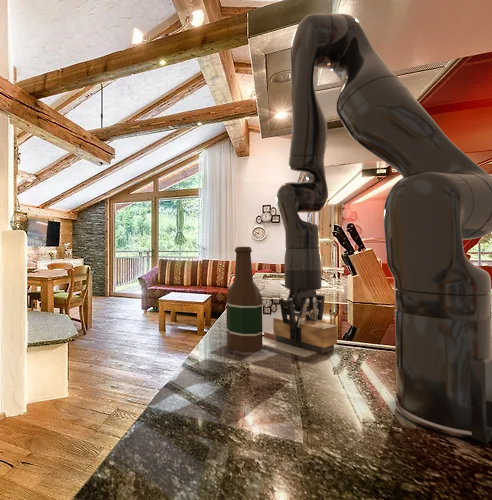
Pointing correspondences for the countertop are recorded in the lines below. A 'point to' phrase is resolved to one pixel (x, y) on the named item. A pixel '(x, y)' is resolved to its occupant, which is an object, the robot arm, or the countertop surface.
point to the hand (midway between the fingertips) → (303, 340)
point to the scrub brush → (308, 335)
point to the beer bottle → (244, 307)
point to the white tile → (288, 347)
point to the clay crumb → (270, 334)
